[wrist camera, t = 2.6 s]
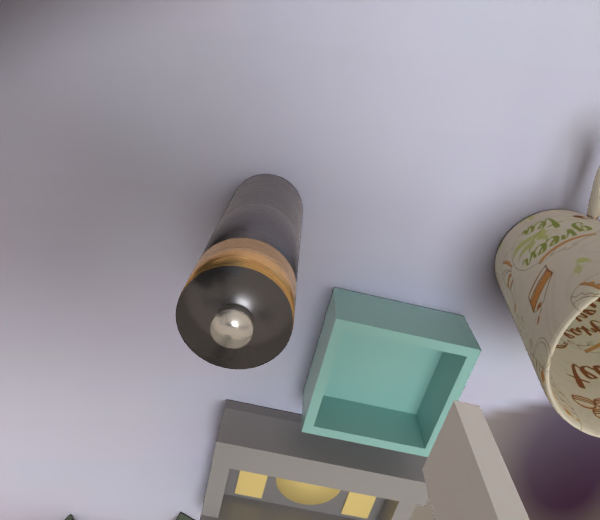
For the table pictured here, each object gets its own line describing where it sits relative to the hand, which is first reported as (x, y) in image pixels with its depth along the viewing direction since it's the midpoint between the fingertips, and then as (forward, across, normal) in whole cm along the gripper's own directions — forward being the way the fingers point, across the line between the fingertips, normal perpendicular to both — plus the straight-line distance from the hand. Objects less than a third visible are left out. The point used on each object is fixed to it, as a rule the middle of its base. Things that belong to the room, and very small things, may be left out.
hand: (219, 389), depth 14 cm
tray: (+15, +9, -8) cm, 19 cm away
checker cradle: (+15, +7, -19) cm, 25 cm away
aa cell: (+15, 0, 0) cm, 15 cm away
